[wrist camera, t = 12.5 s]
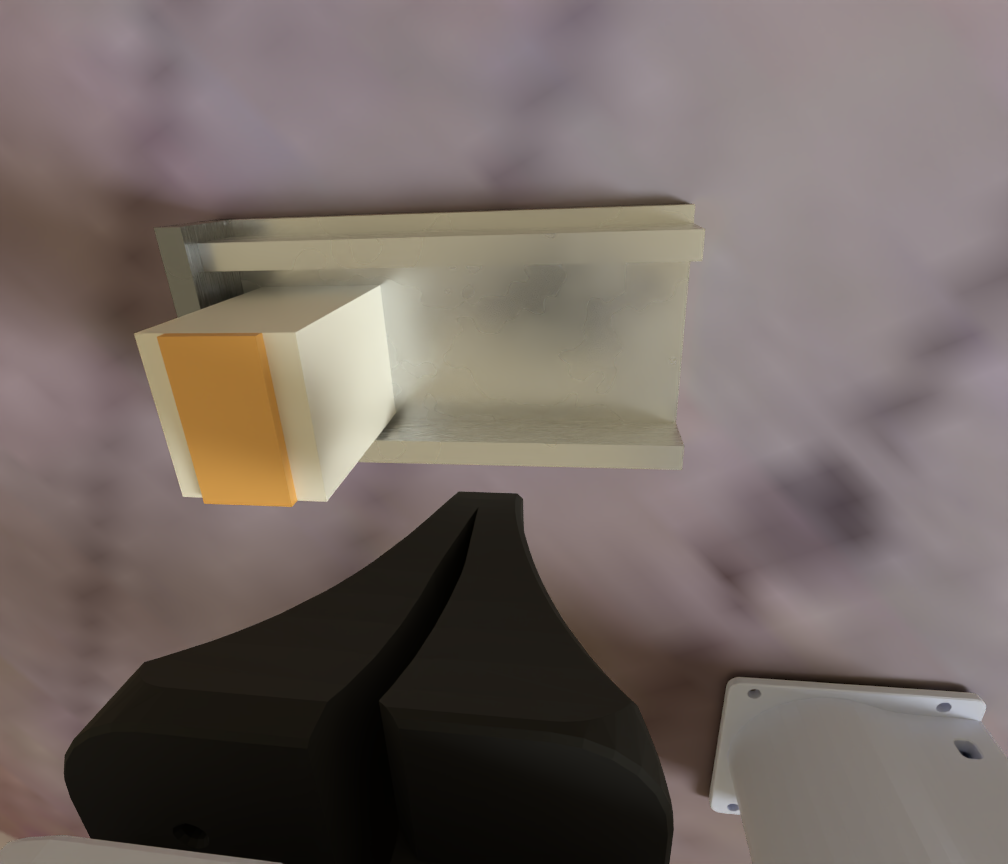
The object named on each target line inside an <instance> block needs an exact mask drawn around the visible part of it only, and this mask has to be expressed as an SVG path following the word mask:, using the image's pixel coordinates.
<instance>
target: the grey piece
mask: <svg viewBox="0 0 1008 864" xmlns="http://www.w3.org/2000/svg"><path fill="white" fill-rule="evenodd" d="M694 212H695V205H694V204H665V205H636V206H606V207H576V208H547V209H517V210H487V211H457V212H428V213H398V214H368V215H339V216H309V217H279V218H250V219H220V220H209V221H201V222H194V223H186V224H179V225H171V226H164V227H156V228H154V231H155V235H156V239H157V242H158V246H159V250H160V254H161V257H162V261H163V265H164V268H165V272H166V276H167V280H168V283H169V287H170V291H171V295H172V298H173V302H174V306H175V310H176V313H177V317H181V316H184V315H187V314H189V313H192V312H195V311H198V310H200V309H203V308H206V307H209V306H212V305H214V304H217V303H220V302H223V301H225V300H228V299H231V298H234V297H236V296H239V295H242V294H245V293H247V292H250V291H253V290H256V289H259V288H261V287H297V286H355V285H380V288H381V296H382V304H383V312H384V320H385V328H386V337H387V345H388V353H389V361H390V369H391V377H392V386H393V394H394V402H395V410H396V414H395V415H394V416H393V417H392V419H391V420H390V421H389V423H388V424H387V425H386V426H385V428H384V429H383V430H382V432H381V433H380V434H379V435H378V437H377V438H376V439H375V441H374V442H373V443H372V444H371V446H370V447H369V448H368V450H367V451H366V452H365V453H364V455H363V456H362V457H361V459H360V460H359V461H358V462H379V463H420V464H462V465H503V466H545V467H586V468H628V469H669V470H682V465H683V454H684V444H683V441H682V439H681V436H680V433H679V430H678V427H677V425H676V415H677V404H678V392H679V381H680V370H681V359H682V347H683V336H684V325H685V313H686V302H687V291H688V279H689V268H690V261H702V257H703V247H704V237H705V229H704V228H702V227H700V226H698V225H696V224H694Z"/></svg>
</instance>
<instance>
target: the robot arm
mask: <svg viewBox="0 0 1008 864" xmlns="http://www.w3.org/2000/svg"><path fill="white" fill-rule="evenodd" d="M752 689H756V690H754V691H750V690H752ZM985 710H986V705H985V703H984V702H983V700H982V699H981V698H980V696H978V695H977V694H974V693H968V692H953V691H938V690H924V689H909V688H894V687H880V686H865V685H851V684H836V683H821V682H807V681H792V680H777V679H763V678H748V677H735V678H733V679H731V680H730V681H728V683H727V685H726V692H725V698H724V704H723V711H722V717H721V723H720V730H719V736H718V742H717V749H716V755H715V761H714V768H713V774H712V780H711V787H710V793H709V802H710V807H711V808H712V810H714V811H716V812H719V813H728V814H738V815H741V819H742V823H743V827H744V831H745V835H746V839H747V844H748V848H749V852H750V856H751V860H752V864H1008V758H1007V756H1006V755H1005V754H1004V752H1003V751H1002V750H1001V748H1000V747H999V745H998V744H997V743H996V741H995V740H994V738H993V737H992V736H991V734H990V733H989V731H988V730H987V729H986V727H985V726H984V725H983V723H982V722H981V720H982V718H983V715H984V713H985ZM64 779H65V783H66V786H67V789H68V792H69V795H70V798H71V800H72V802H73V804H74V806H75V808H76V810H77V812H78V814H79V816H80V818H81V820H82V822H83V824H84V826H85V828H86V830H87V832H88V834H89V836H90V838H91V839H90V838H82V837H74V836H66V835H57V836H43V837H29V838H23V839H19V840H15V841H11V842H8V843H7V844H6V845H5V846H4V847H3V848H2V849H1V850H0V864H669V862H670V854H671V846H672V838H673V830H674V828H673V810H672V804H671V799H670V795H669V791H668V787H667V783H666V780H665V776H664V773H663V770H662V767H661V764H660V761H659V758H658V755H657V752H656V750H655V747H654V744H653V742H652V739H651V737H650V734H649V732H648V729H647V727H646V725H645V722H644V720H643V718H642V715H641V713H640V711H639V708H638V706H637V705H636V704H635V703H634V702H633V701H632V700H631V699H630V698H629V697H627V696H626V695H625V694H624V693H623V692H622V691H621V690H620V689H619V688H618V687H617V686H616V685H615V684H614V683H613V682H612V681H611V680H610V679H609V677H608V676H607V675H606V674H605V673H604V672H603V671H602V670H601V669H600V667H599V666H598V665H597V664H596V663H595V662H594V661H593V659H592V658H591V657H590V656H589V655H588V653H587V652H586V651H585V649H584V648H583V647H582V645H581V644H580V643H579V641H578V640H577V639H576V637H575V636H574V634H573V633H572V632H571V630H570V629H569V628H568V626H567V625H566V623H565V622H564V620H563V619H562V617H561V615H560V614H559V612H558V611H557V609H556V607H555V606H554V604H553V602H552V600H551V598H550V597H549V595H548V593H547V591H546V589H545V587H544V585H543V583H542V581H541V579H540V576H539V574H538V572H537V569H536V567H535V564H534V562H533V559H532V556H531V554H530V551H529V547H528V544H527V541H526V537H525V534H524V522H523V499H522V498H521V497H520V496H519V495H518V494H512V493H484V492H458V493H457V494H455V495H454V496H453V497H452V498H451V499H450V500H448V501H447V502H446V503H445V504H444V505H443V506H442V507H440V508H439V509H438V510H437V511H436V512H435V513H434V514H433V515H431V516H430V517H429V518H428V519H427V520H426V521H425V522H423V523H422V524H421V525H420V526H419V527H417V528H416V529H415V530H414V531H413V532H412V533H410V534H409V535H408V536H407V537H406V538H404V539H403V540H402V541H400V542H399V543H398V544H396V545H395V546H394V547H392V548H391V549H390V550H388V551H387V552H386V553H384V554H383V555H382V556H380V557H379V558H378V559H376V560H375V561H374V562H372V563H371V564H369V565H368V566H366V567H365V568H363V569H362V570H360V571H359V572H357V573H356V574H354V575H352V576H351V577H349V578H347V579H346V580H344V581H342V582H341V583H339V584H337V585H336V586H334V587H332V588H330V589H329V590H327V591H325V592H323V593H321V594H319V595H317V596H315V597H313V598H311V599H309V600H307V601H305V602H303V603H301V604H299V605H297V606H295V607H293V608H291V609H289V610H287V611H285V612H283V613H281V614H279V615H277V616H274V617H272V618H270V619H267V620H265V621H263V622H260V623H258V624H256V625H253V626H251V627H248V628H246V629H243V630H240V631H238V632H235V633H233V634H230V635H228V636H225V637H222V638H219V639H217V640H214V641H211V642H208V643H205V644H202V645H198V646H195V647H192V648H189V649H186V650H183V651H180V652H177V653H173V654H170V655H167V656H164V657H161V658H158V659H154V660H150V661H147V662H144V663H143V664H142V665H141V666H140V667H139V669H138V670H137V671H136V672H135V673H134V674H133V675H132V676H131V677H130V678H129V679H128V680H127V682H126V683H125V684H124V685H123V686H122V687H121V688H120V689H119V690H118V691H117V693H116V694H115V695H114V696H113V697H112V698H111V699H110V700H109V701H108V702H107V703H106V705H105V706H104V707H103V708H102V709H101V710H100V711H99V712H98V713H97V714H96V716H95V717H94V718H93V719H92V720H91V721H90V722H89V723H88V724H87V725H86V726H85V728H84V729H83V730H82V731H81V732H80V733H79V734H78V735H77V736H76V737H75V739H74V740H73V741H72V743H71V745H70V747H69V748H68V750H67V752H66V754H65V761H64Z"/></svg>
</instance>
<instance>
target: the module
mask: <svg viewBox="0 0 1008 864" xmlns="http://www.w3.org/2000/svg"><path fill="white" fill-rule="evenodd" d="M134 335H135V339H136V342H137V345H138V349H139V352H140V355H141V359H142V362H143V365H144V369H145V372H146V375H147V379H148V382H149V385H150V389H151V392H152V395H153V399H154V402H155V405H156V409H157V412H158V415H159V418H160V422H161V425H162V428H163V432H164V435H165V438H166V442H167V445H168V448H169V452H170V455H171V458H172V462H173V465H174V468H175V472H176V475H177V478H178V482H179V485H180V488H181V492H182V495H183V497H203V501H204V504H229V505H257V506H286V507H292V506H293V505H294V504H295V503H296V502H297V501H323V502H327V501H328V500H329V498H330V497H331V496H332V494H333V493H334V492H335V491H336V489H337V488H338V487H339V485H340V484H341V483H342V482H343V480H344V479H345V478H346V476H347V475H348V474H349V473H350V471H351V470H352V469H353V467H354V466H355V465H356V464H357V462H358V461H359V460H360V459H361V457H362V456H363V455H364V453H365V452H366V451H367V450H368V448H369V447H370V446H371V444H372V443H373V442H374V441H375V439H376V438H377V437H378V435H379V434H380V433H381V432H382V430H383V429H384V428H385V426H386V425H387V424H388V423H389V421H390V420H391V419H392V417H393V416H394V415H395V414H396V410H395V402H394V394H393V386H392V377H391V369H390V361H389V353H388V345H387V337H386V328H385V320H384V312H383V304H382V296H381V288H380V285H355V286H297V287H261V288H259V289H256V290H253V291H250V292H247V293H245V294H242V295H239V296H236V297H234V298H231V299H228V300H225V301H223V302H220V303H217V304H214V305H212V306H209V307H206V308H203V309H200V310H198V311H195V312H192V313H189V314H187V315H184V316H181V317H178V318H176V319H173V320H170V321H167V322H164V323H162V324H159V325H156V326H153V327H151V328H148V329H145V330H142V331H140V332H137V333H134Z"/></svg>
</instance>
